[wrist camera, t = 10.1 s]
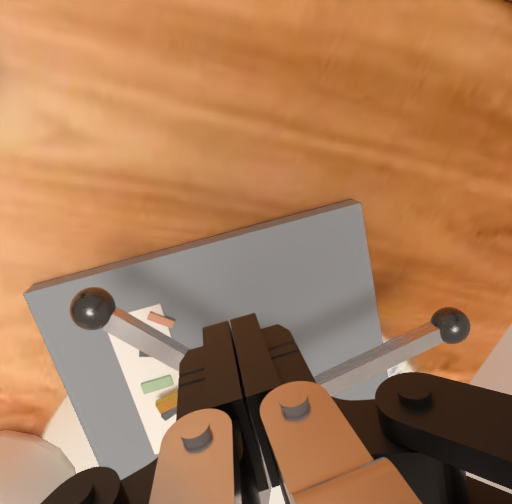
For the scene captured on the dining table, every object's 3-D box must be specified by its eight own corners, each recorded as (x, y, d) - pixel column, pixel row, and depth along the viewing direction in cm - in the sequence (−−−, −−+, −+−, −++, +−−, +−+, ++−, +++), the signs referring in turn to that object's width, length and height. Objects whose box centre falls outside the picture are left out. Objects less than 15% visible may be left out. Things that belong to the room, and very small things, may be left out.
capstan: (367, 139, 29) (429, 138, 22) (448, 399, 37) (514, 463, 29) (77, 270, 28) (38, 315, 21) (222, 508, 36) (231, 604, 28)
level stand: (350, 199, 33) (363, 203, 31) (383, 397, 39) (395, 414, 37) (33, 284, 31) (20, 296, 28) (118, 482, 37) (113, 505, 34)
